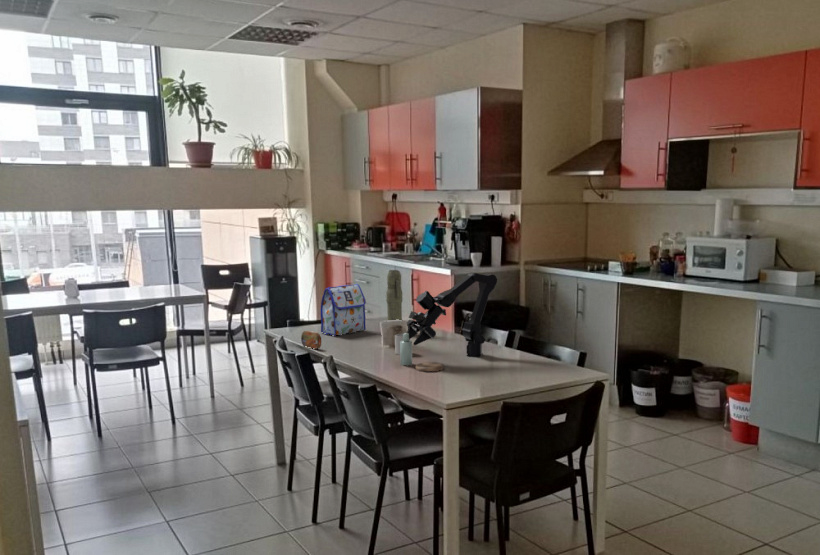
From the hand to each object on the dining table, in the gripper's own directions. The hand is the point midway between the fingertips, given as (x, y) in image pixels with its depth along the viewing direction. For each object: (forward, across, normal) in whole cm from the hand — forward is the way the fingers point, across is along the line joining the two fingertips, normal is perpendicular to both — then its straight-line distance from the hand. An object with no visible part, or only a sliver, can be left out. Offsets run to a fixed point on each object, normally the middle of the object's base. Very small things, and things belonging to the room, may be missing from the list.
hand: (409, 342), depth 289 cm
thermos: (-11, -68, +24) cm, 73 cm away
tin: (+27, -54, -12) cm, 62 cm away
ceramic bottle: (+8, 0, +6) cm, 10 cm away
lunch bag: (+7, -83, +7) cm, 83 cm away
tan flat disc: (+4, +11, +10) cm, 15 cm away
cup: (+2, -22, +12) cm, 25 cm away
